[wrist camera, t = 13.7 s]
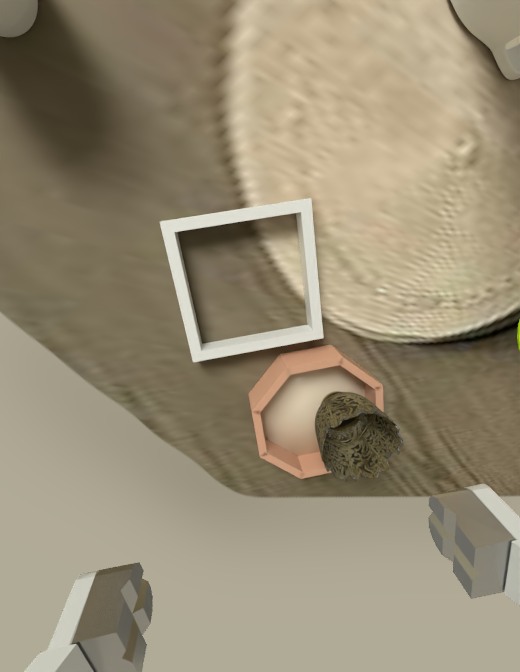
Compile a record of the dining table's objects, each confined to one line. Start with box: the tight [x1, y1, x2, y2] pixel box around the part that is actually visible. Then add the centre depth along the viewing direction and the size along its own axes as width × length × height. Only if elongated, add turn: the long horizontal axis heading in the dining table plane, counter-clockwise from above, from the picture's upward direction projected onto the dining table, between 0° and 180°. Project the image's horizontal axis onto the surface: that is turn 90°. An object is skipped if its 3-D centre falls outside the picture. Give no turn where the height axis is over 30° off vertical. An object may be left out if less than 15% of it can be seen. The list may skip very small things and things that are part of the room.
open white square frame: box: [160, 198, 323, 362], centre depth 31 cm, size 13×13×2 cm
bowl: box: [249, 345, 383, 479], centre depth 36 cm, size 14×14×4 cm
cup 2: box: [315, 391, 403, 482], centre depth 33 cm, size 8×7×8 cm
